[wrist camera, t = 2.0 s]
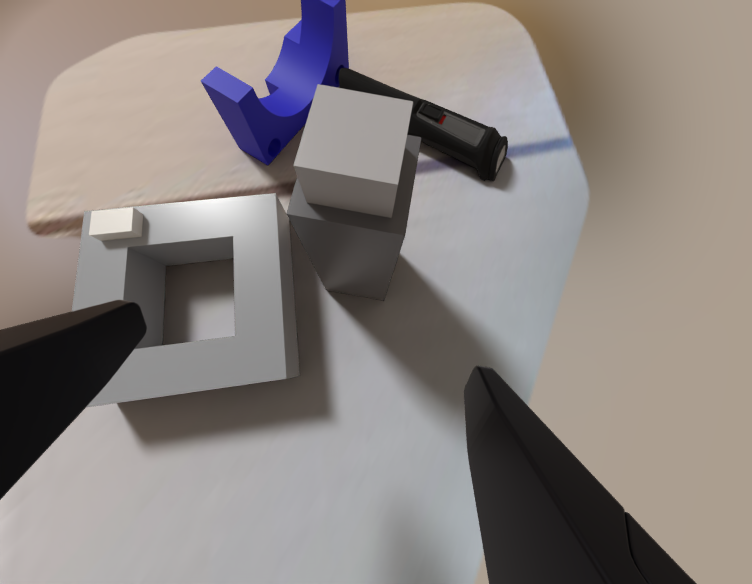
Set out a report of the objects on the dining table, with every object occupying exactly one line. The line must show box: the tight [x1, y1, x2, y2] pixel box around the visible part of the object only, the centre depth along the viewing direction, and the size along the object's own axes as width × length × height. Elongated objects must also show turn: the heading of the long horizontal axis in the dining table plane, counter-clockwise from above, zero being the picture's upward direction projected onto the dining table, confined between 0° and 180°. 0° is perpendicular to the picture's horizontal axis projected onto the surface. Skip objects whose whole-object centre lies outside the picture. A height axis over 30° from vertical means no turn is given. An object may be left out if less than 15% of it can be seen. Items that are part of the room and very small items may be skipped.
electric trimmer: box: [339, 68, 508, 181], centre depth 24 cm, size 4×16×3 cm, turn 62°
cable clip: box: [201, 0, 349, 165], centre depth 22 cm, size 12×4×6 cm, turn 147°
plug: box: [287, 84, 421, 301], centre depth 15 cm, size 4×4×13 cm
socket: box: [72, 193, 300, 407], centre depth 18 cm, size 12×12×4 cm
